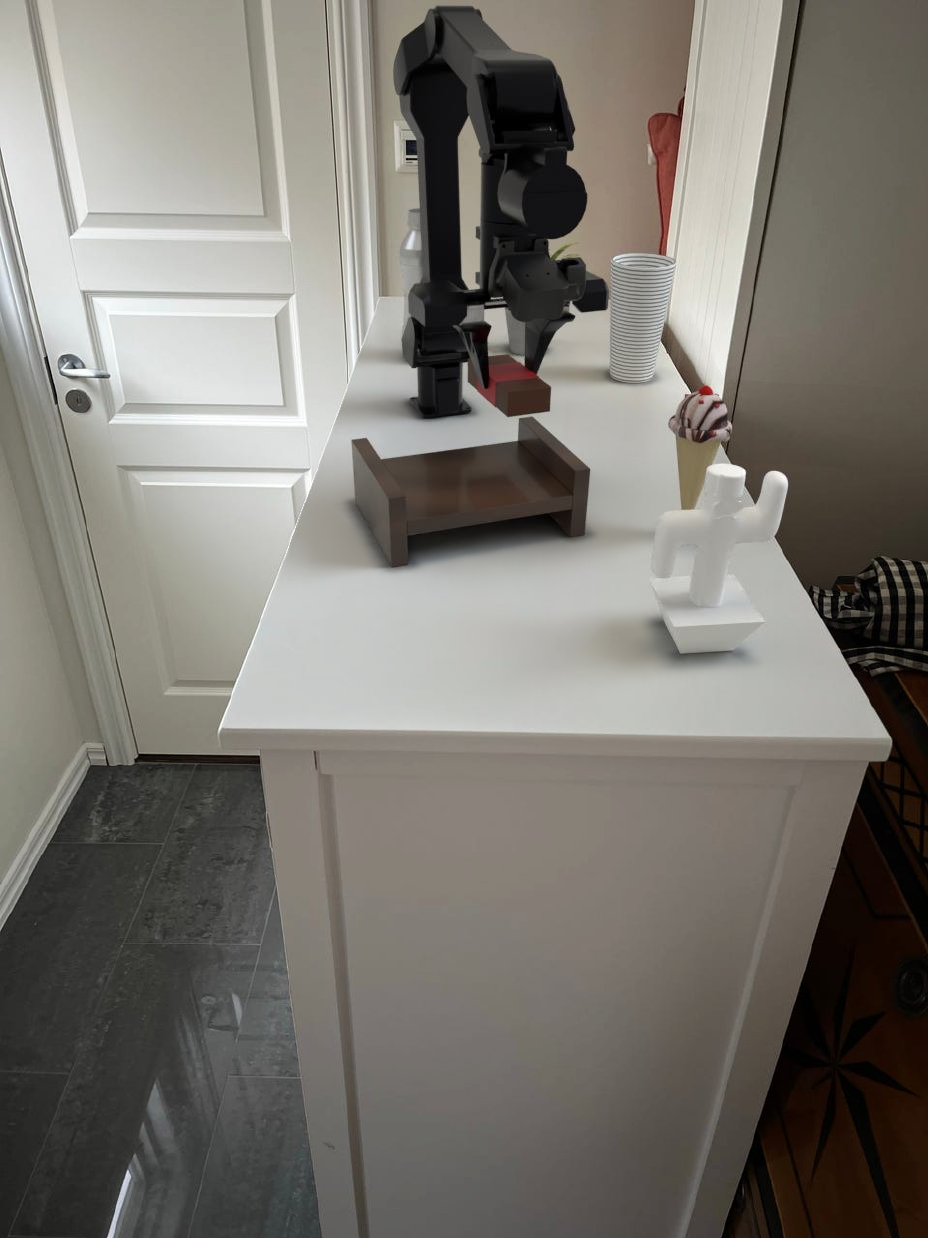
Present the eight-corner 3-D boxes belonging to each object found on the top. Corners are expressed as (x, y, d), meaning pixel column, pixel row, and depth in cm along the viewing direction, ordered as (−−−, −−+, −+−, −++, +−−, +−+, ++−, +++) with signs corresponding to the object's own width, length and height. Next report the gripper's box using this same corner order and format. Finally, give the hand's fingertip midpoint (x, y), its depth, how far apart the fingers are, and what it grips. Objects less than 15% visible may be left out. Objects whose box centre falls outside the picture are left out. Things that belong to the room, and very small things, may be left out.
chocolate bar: (467, 382, 98) (467, 357, 96) (507, 377, 99) (508, 353, 98) (506, 417, 89) (507, 391, 88) (550, 412, 90) (552, 385, 89)
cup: (614, 362, 134) (625, 249, 126) (670, 372, 131) (685, 257, 122) (590, 379, 128) (600, 262, 120) (649, 390, 125) (663, 270, 116)
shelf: (355, 502, 96) (351, 439, 93) (529, 477, 102) (532, 416, 98) (391, 567, 85) (388, 498, 82) (584, 534, 91) (590, 468, 87)
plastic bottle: (452, 352, 138) (452, 207, 127) (436, 367, 132) (434, 216, 121) (411, 348, 140) (408, 204, 128) (394, 362, 134) (389, 213, 123)
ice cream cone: (713, 551, 88) (740, 398, 80) (652, 544, 89) (673, 393, 81) (712, 523, 93) (737, 377, 85) (654, 518, 94) (674, 372, 86)
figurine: (630, 615, 79) (651, 450, 71) (738, 609, 80) (771, 446, 71) (654, 666, 73) (679, 492, 65) (770, 659, 74) (809, 486, 65)
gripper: (444, 242, 76) (445, 424, 84) (645, 227, 81) (628, 400, 90) (403, 218, 85) (409, 386, 93) (588, 207, 90) (577, 365, 99)
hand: (507, 384), depth 93 cm, fingers closed on chocolate bar, 4 cm apart
